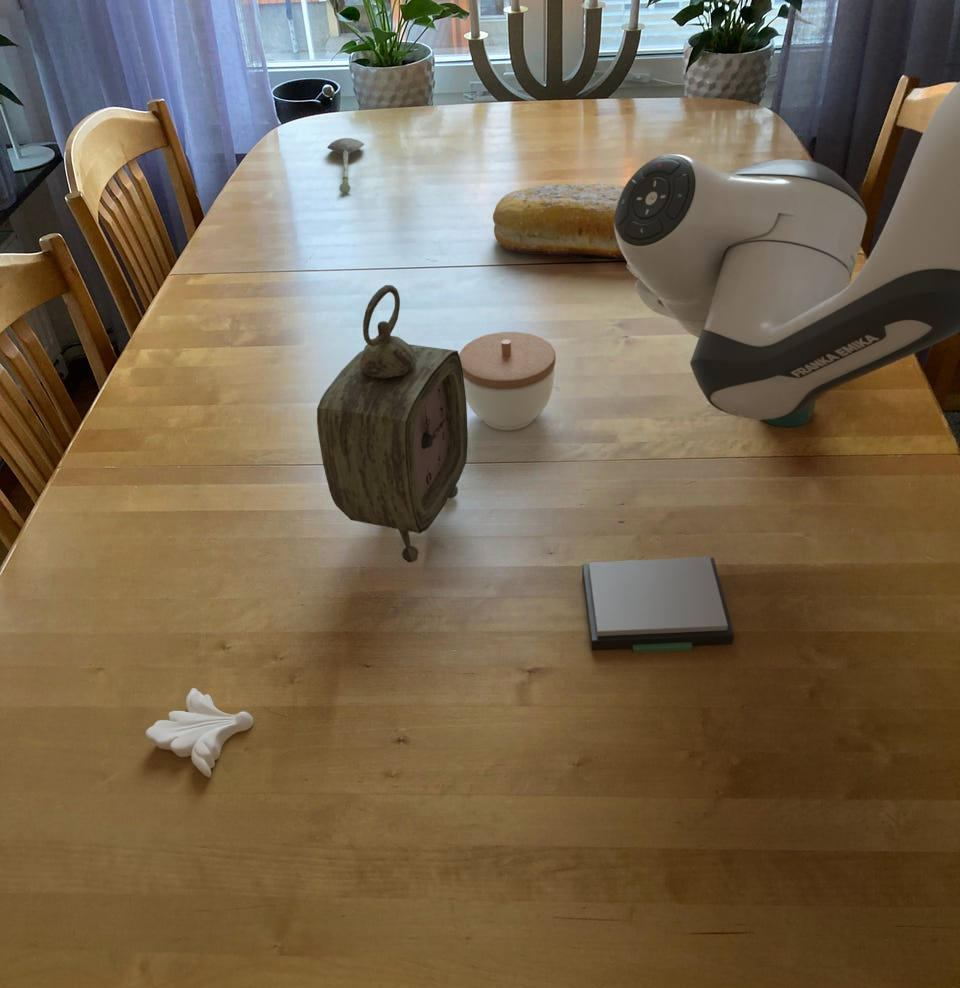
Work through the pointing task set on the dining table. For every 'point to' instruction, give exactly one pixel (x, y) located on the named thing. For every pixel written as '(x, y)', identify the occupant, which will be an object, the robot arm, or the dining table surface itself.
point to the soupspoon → (345, 156)
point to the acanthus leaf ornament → (198, 731)
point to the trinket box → (508, 378)
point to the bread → (560, 220)
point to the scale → (655, 605)
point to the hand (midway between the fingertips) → (759, 341)
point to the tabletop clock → (394, 431)
